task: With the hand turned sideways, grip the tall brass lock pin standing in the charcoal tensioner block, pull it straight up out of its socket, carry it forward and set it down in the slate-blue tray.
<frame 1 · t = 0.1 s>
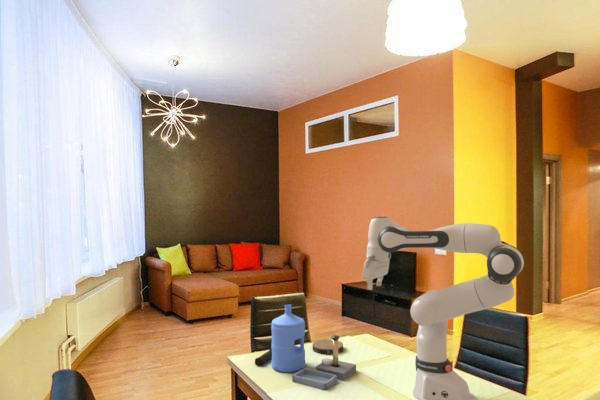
hand: (374, 287, 168), 39 cm above the table, tool pointing down, fingers open, 8 cm apart
lock pin: (335, 372, 177), resting in tensioner block
tensioner block: (335, 372, 177), on the table
tray: (314, 381, 168), on the table
brown round disc: (327, 350, 207), on the table
water jug: (288, 366, 185), on the table
hand tool: (267, 360, 194), on the table
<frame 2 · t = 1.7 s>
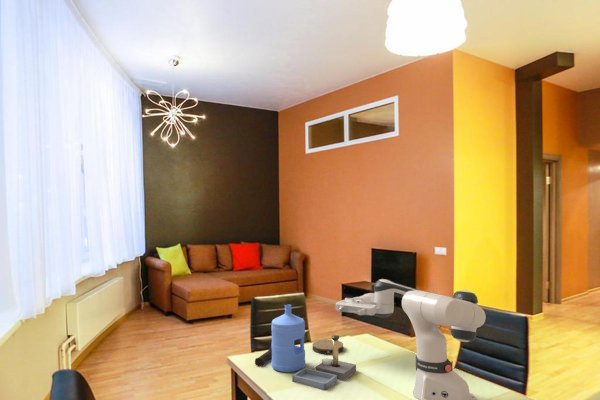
hand: (348, 311, 189), 24 cm above the table, tool horizontal, fingers open, 8 cm apart
nothing on the table moved.
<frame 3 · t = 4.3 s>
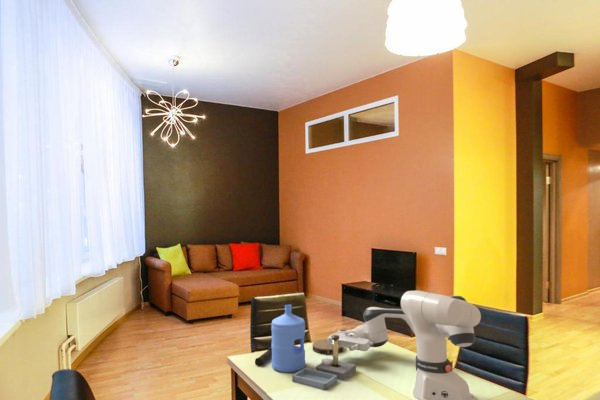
hand: (341, 347, 183), 9 cm above the table, tool horizontal, fingers open, 8 cm apart
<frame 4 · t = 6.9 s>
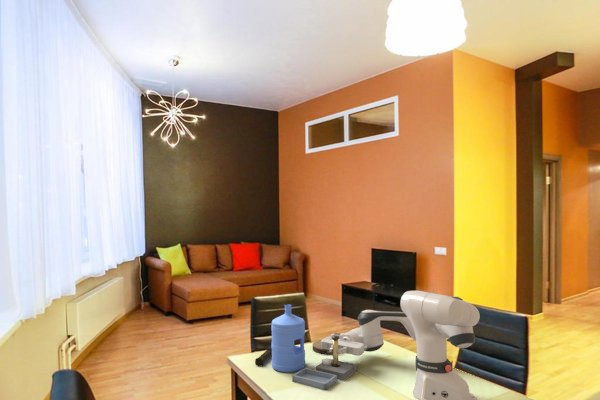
hand: (334, 351, 176), 10 cm above the table, tool horizontal, fingers closed on lock pin, 2 cm apart
lock pin: (335, 372, 177), resting in tensioner block, touching gripper
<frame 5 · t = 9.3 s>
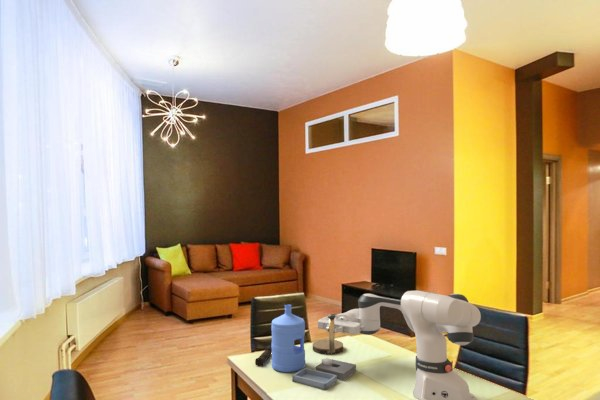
hand: (330, 330, 176), 19 cm above the table, tool horizontal, fingers closed on lock pin, 2 cm apart
lock pin: (332, 351, 176), point 9 cm above the table, touching gripper
when the fingers open (12 cm above the table, at t = 12.1 s): lock pin drops 1 cm, resting on tray.
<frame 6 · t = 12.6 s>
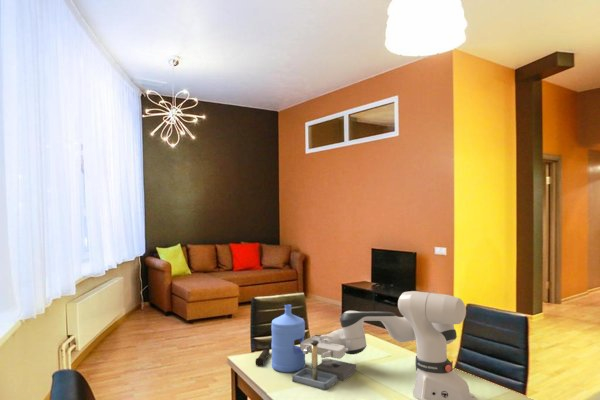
hand: (313, 354, 167), 12 cm above the table, tool horizontal, fingers open, 7 cm apart
lock pin: (314, 379, 168), point 1 cm above the table, touching tray
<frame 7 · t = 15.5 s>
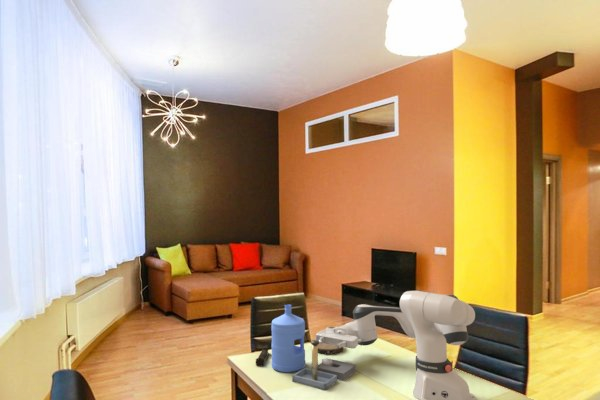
hand: (328, 344, 178), 12 cm above the table, tool horizontal, fingers open, 8 cm apart
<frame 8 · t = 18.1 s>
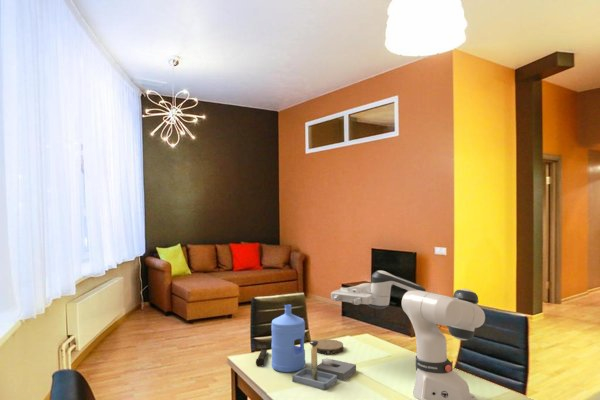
hand: (344, 300, 186), 30 cm above the table, tool horizontal, fingers open, 8 cm apart
at the end: lock pin inside the target area on the tray (0.1 cm from its centre), point 0.6 cm above the tray's base; the gripper is holding nothing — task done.
